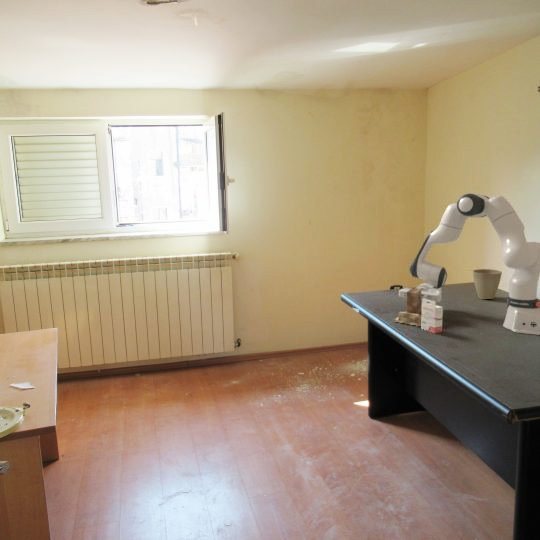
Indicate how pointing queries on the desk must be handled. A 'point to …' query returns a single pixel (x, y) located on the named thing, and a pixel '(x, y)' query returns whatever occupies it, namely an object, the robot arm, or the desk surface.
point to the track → (409, 318)
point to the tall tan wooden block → (414, 301)
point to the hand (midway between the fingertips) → (414, 298)
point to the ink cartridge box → (431, 316)
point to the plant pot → (486, 282)
